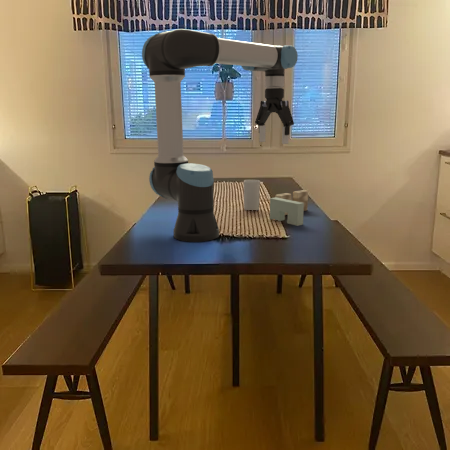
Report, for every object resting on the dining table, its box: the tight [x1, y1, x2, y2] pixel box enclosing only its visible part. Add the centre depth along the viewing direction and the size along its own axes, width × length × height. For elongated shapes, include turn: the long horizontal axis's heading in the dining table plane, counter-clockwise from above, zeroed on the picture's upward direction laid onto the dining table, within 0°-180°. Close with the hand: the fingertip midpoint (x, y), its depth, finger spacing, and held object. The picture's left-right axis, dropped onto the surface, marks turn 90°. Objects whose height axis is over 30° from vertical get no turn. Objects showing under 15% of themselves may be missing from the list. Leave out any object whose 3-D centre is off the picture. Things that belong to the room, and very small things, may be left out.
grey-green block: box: [269, 197, 305, 227], centre depth 172 cm, size 3×14×8 cm, turn 40°
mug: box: [243, 179, 261, 212], centre depth 194 cm, size 10×7×12 cm, turn 172°
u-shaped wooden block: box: [274, 189, 309, 216], centre depth 187 cm, size 16×3×8 cm, turn 130°
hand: (273, 142), depth 187 cm, fingers open, 13 cm apart
